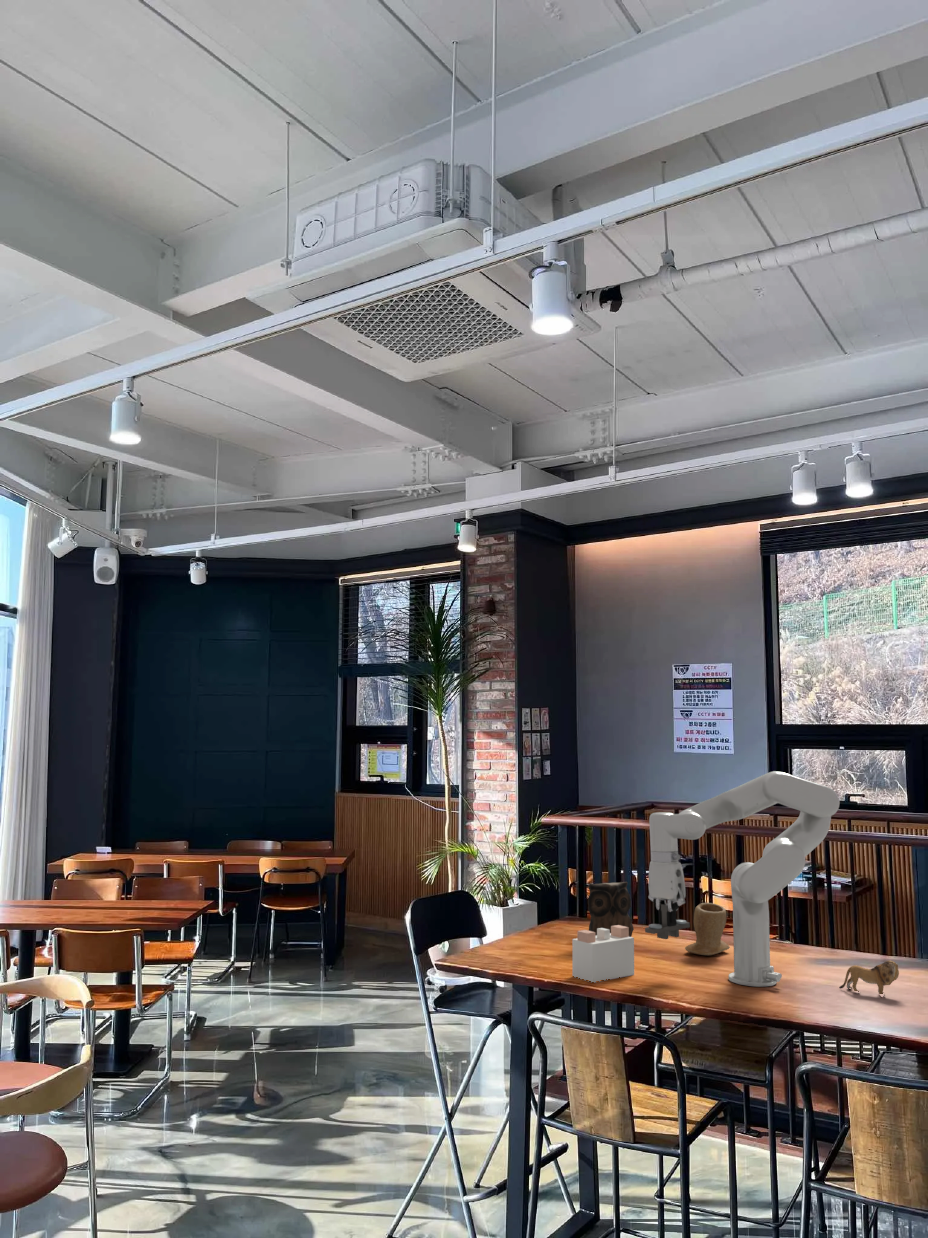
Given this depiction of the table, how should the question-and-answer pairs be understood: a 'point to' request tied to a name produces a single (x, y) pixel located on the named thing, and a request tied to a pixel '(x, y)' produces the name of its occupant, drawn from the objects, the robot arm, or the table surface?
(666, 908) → the bar with two balls
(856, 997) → the table surface
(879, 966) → the lion figurine
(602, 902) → the owl
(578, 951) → the white toy brick
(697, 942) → the stone cup
